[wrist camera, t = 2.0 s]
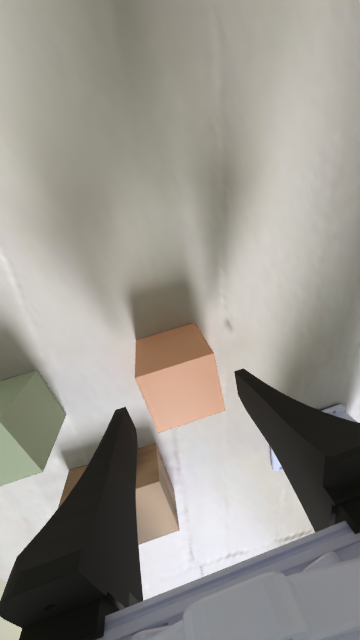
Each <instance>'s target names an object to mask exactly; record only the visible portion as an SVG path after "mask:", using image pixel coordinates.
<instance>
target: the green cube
mask: <svg viewBox="0 0 360 640" xmlns="http://www.w3.org/2000/svg"><path fill="white" fill-rule="evenodd" d="M65 416H66V413H65V411H64V410H63V408H62V407H61V405H60V404H59V402H58V401H57V399H56V397H55V396H54V394H53V393H52V391H51V390H50V388H49V387H48V385H47V384H46V382H45V381H44V379H43V378H42V376H41V375H40V373H39V371H38V370H35V371H32V372H28V373H25V374H22V375H18V376H15V377H12V378H8V379H5V380H2V381H0V486H2V485H5V484H8V483H11V482H14V481H17V480H20V479H23V478H26V477H29V476H32V475H35V474H38V473H41V472H43V470H44V468H45V465H46V463H47V460H48V458H49V456H50V453H51V451H52V448H53V446H54V443H55V441H56V438H57V436H58V433H59V431H60V429H61V426H62V424H63V421H64V419H65Z"/></svg>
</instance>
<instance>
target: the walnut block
mask: <svg viewBox="0 0 360 640" xmlns="http://www.w3.org/2000/svg"><path fill="white" fill-rule="evenodd" d="M87 466H88V465H85V466H82V467H78V468H75V469H72V470H69V473H68V477H67V480H66V483H65V487H64V490H63V493H62V497H61V500H60V504H59V507H60V506H61V504H62V503H63V502H64V500H65V499H66V498H67V496H68V495H69V493H70V492H71V491H72V489H73V488H74V486H75V485H76V483H77V482H78V480H79V479H80V477H81V476H82V474H83V472H84V471H85V469H86V468H87ZM59 507H58V508H59ZM136 516H137V533H138V545H139V544H142V543H145V542H148V541H150V540H153V539H156V538H159V537H162V536H165V535H167V534H170V533H173V532H176V531H179V523H178V516H177V509H176V501H175V494H174V490H173V487H172V484H171V482H170V479H169V476H168V474H167V471H166V468H165V466H164V463H163V460H162V458H161V455H160V452H159V450H158V447H157V444H156V443H155V444H152V445H149V446H146V447H143V448H139V449H137V470H136Z"/></svg>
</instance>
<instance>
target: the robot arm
mask: <svg viewBox="0 0 360 640" xmlns="http://www.w3.org/2000/svg"><path fill="white" fill-rule="evenodd" d="M235 378H236V384H237V390H238V395H239V397H240V399H241V401H242V403H243V405H244V407H245V409H246V410H247V412H248V414H249V415H250V417H251V418H252V419H253V421H254V422H255V424H256V425H257V427H258V428H259V430H260V431H261V433H262V434H263V436H264V437H265V439H266V440H267V442H268V443H269V445H270V449H271V460H272V469H273V470H274V472H278V471H280V470H284V472H285V474H286V476H287V477H288V479H289V481H290V483H291V485H292V487H293V489H294V491H295V493H296V495H297V497H298V498H299V500H300V502H301V504H302V506H303V508H304V510H305V512H306V514H307V516H308V518H309V520H310V522H311V524H312V526H313V528H314V530H315V533H313V534H310V535H308V536H305V537H303V538H300V539H298V540H295V541H293V542H290V543H288V544H285V545H283V546H280V547H278V548H275V549H273V550H270V551H268V552H265V553H263V554H260V555H257V556H255V557H252V558H250V559H247V560H245V561H242V562H240V563H237V564H235V565H232V566H230V567H227V568H225V569H222V570H220V571H217V572H215V573H212V574H210V575H207V576H205V577H202V578H200V579H197V580H195V581H192V582H190V583H187V584H185V585H182V586H180V587H177V588H175V589H172V590H170V591H167V592H165V593H162V594H160V595H157V596H155V597H152V598H150V599H147V600H145V601H143V594H142V583H141V573H140V561H139V548H138V533H137V516H136V470H137V434H136V428H135V426H134V424H133V422H132V419H131V417H130V415H129V413H128V411H127V409H126V407H124V408H121V409H118V410H116V411H115V412H114V415H113V417H112V419H111V421H110V423H109V426H108V428H107V430H106V432H105V434H104V436H103V438H102V440H101V442H100V444H99V446H98V448H97V450H96V452H95V453H94V455H93V457H92V459H91V461H90V463H89V464H88V466H87V468H86V469H85V471H84V472H83V474H82V476H81V477H80V479H79V480H78V482H77V483H76V485H75V486H74V488H73V489H72V491H71V492H70V493H69V495H68V496H67V498H66V499H65V500H64V502H63V503H62V504H61V506H60V507H59V508H58V510H57V511H56V512H55V513H54V515H53V516H52V517H51V518H50V520H49V521H48V522H47V523H46V525H45V526H44V527H43V528H42V529H41V531H40V532H39V533H38V534H37V535H36V536H35V537H34V539H33V540H32V541H31V542H30V543H29V544H28V545H27V547H26V548H25V549H24V550H23V551H22V552H21V553H20V554H19V555H18V557H17V559H16V561H15V564H14V566H13V568H12V571H11V574H10V576H9V579H8V582H7V584H6V587H5V590H4V593H3V595H2V598H1V601H0V616H1V617H2V618H3V619H5V620H7V621H9V622H11V623H13V624H15V625H17V626H19V627H21V628H22V632H21V635H20V638H19V640H360V423H358V422H357V421H355V420H354V419H353V418H352V417H351V416H350V415H348V414H347V413H346V412H345V409H346V407H345V406H344V405H343V404H339V405H336V406H333V407H330V408H327V409H325V410H322V411H320V410H318V409H315V408H312V407H310V406H307V405H305V404H303V403H301V402H299V401H296V400H294V399H292V398H290V397H288V396H286V395H285V394H283V393H281V392H279V391H277V390H276V389H274V388H272V387H271V386H269V385H267V384H266V383H264V382H263V381H261V380H260V379H258V378H257V377H255V376H254V375H252V374H251V373H249V372H248V371H246V370H245V369H241V370H237V371H235Z"/></svg>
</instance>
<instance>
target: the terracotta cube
mask: <svg viewBox="0 0 360 640" xmlns="http://www.w3.org/2000/svg"><path fill="white" fill-rule="evenodd" d="M135 379H136V382H137V384H138V387H139V389H140V391H141V394H142V396H143V398H144V401H145V403H146V406H147V408H148V410H149V413H150V415H151V418H152V420H153V422H154V425H155V427H156V429H157V432H158V433H160V432H163V431H166V430H169V429H172V428H175V427H178V426H181V425H184V424H187V423H190V422H193V421H196V420H199V419H202V418H205V417H208V416H211V415H214V414H217V413H220V412H223V411H226V410H225V405H224V400H223V395H222V391H221V386H220V381H219V376H218V371H217V366H216V361H215V356H214V353H213V351H212V349H211V348H210V346H209V345H208V343H207V342H206V340H205V338H204V337H203V335H202V334H201V332H200V331H199V329H198V327H197V326H196V324H195V323H191V324H188V325H185V326H181V327H178V328H175V329H171V330H168V331H165V332H161V333H158V334H155V335H151V336H148V337H145V338H142V339H138V340H136V359H135Z"/></svg>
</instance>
